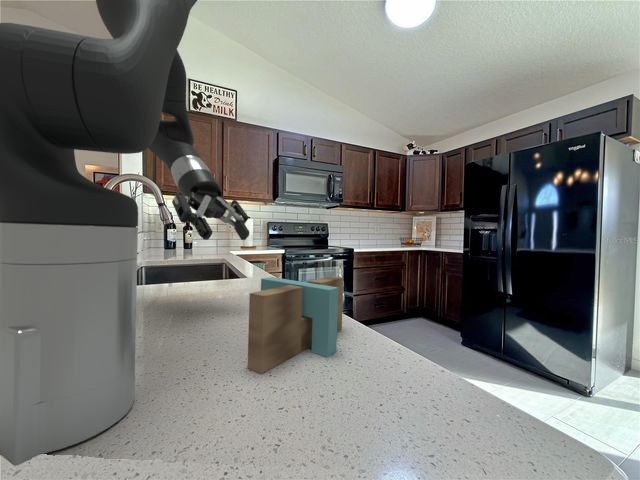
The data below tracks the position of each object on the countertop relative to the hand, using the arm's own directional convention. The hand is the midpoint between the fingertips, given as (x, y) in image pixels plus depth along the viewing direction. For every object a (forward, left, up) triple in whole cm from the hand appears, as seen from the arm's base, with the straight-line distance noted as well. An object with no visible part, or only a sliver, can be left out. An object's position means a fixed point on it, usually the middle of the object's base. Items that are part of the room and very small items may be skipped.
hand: (228, 237), depth 52 cm
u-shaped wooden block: (-3, -18, -16) cm, 25 cm away
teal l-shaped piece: (-3, -17, -16) cm, 23 cm away
